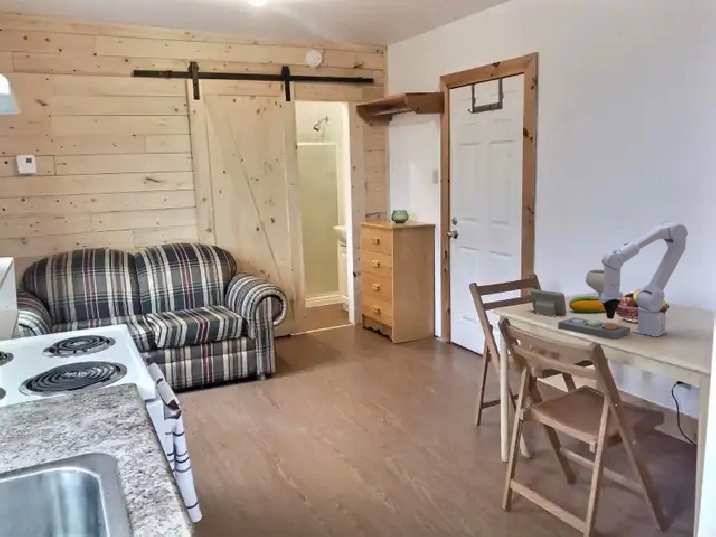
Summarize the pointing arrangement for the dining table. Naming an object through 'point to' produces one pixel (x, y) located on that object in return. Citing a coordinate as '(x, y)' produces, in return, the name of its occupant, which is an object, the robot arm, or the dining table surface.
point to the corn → (586, 304)
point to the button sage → (593, 323)
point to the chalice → (596, 280)
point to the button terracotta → (610, 326)
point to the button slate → (577, 321)
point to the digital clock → (548, 302)
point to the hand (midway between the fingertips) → (610, 318)
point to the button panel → (593, 329)
